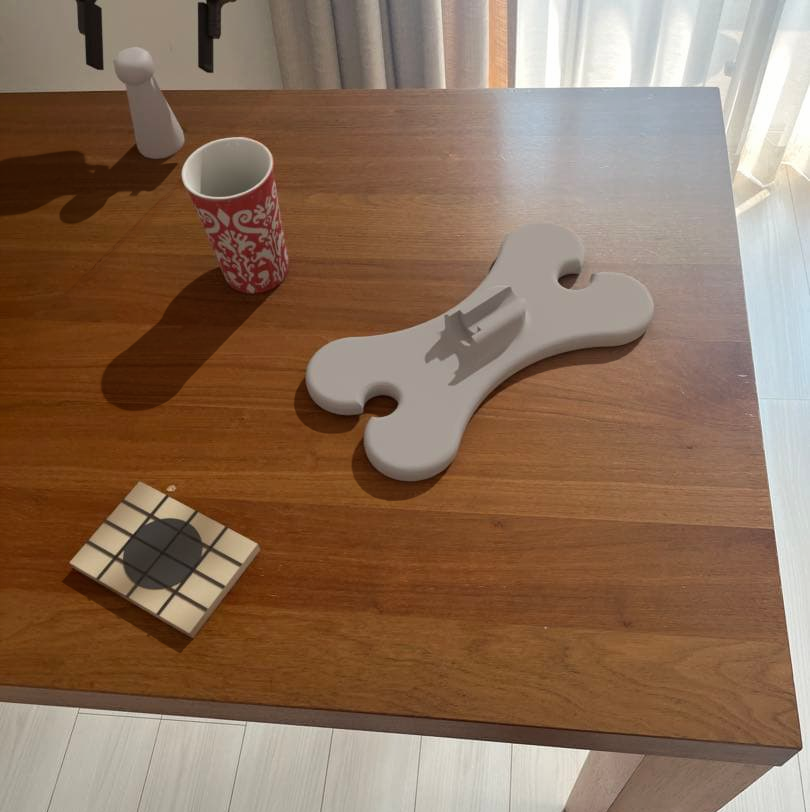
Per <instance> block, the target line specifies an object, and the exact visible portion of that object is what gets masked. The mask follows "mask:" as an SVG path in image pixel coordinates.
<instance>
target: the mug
mask: <svg viewBox="0 0 810 812" xmlns="http://www.w3.org/2000/svg"><path fill="white" fill-rule="evenodd" d="M274 163H275V162H274V157H273V154H272V152H271V150H269V148H268V147H267V146H266V145H264V144H263V143H261V142H260V141H257V140H255V139H252V138H250V137H248V136H237V137H225V138H219V139H216V140H212V141H210V142H207V143H206V144H203V145H202V146H200V147H198V148H197V149H196V150H195V151H193V152H192V153H191V154H190V155H189V156H188V157H187V159H186V160H185V161H184V163H183V165H182V167H181V174H180V175H181V180H182V181H181V182H182V184H183V186H184V188H185V189H186V190H187V192H188V194H189V197H190V198H191V201H192V204H193V206H194V208H195V212H196V213H197V215H198V218H199V220H200V222H201V224H202V227H203V229H204V232H205V234H206V237H207V239H208V241H209V243H210V246H211V249H212V251H213V254H214V255H215V258H216V260H217V262H218V265H219V268H220V269H221V273H222V274H223V277H224V279H225V281H226V282H227V284H228V285H229V286H230V287H231V288H232V289H233V290H235V291H238V292H240V293H244V294H251V295H252V294H253V295H254V294H262V293H265V292H268V291H271V290H273V289H275V288H276V287H278V286H279V285H280V284H281V283H282V282H283V281H284V280H285V279H286V277H287V275H288V274H289V273H288V272H289V270H290V261H289V255H288V248H287V244H286V238H285V233H284V227H283V222H282V215H281V210H280V202H279V196H278V190H277V185H276V180H275V179H276V178H275V175H274Z"/></svg>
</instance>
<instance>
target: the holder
mask: <svg viewBox="0 0 810 812" xmlns="http://www.w3.org/2000/svg"><path fill="white" fill-rule="evenodd" d="M586 254H587V253H586V247H585V245H584V242H583V240H582V238H581V237H580V236H579V235H578V234H577V233H576V232H575V231H574V230H572V229H571V228H570V227H567V226H566V225H563V224H560V223H557V222H553V221H534V222H529V223H525V224H523V225H520V226H519V227H516V228H514V229H513V230H512V231H511V232H510V233H508V234H507V235H506V237H504V239H503V241H502V242H501V245H500V246H499V251H498V254H497V256H496V259H495V261H494V264H493V265H492V267H491V269H490V271H489V272H488V273H487V275H486V277H485V278H484V279H483V281H481V283H480V284H479V285H478V287H476V289H474V291H472V292H471V293H470V294H468V296H467V297H466V298H464V299H463V300H462V301H461V302H459V303H457V305H455V306H454V307H451V309H449V310H447V311H445V312H443V313H442V314H440V315H438V316H436V317H434V318H431V319H430V320H428V321H425V322H422V323H420V324H417V325H415V326H412V327H408V328H405V329H402V330H397V331H393V332H388V333H383V334H378V335H377V334H376V335H367V336H350V337H343V338H339V339H335V340H333V341H330V342H328V343H327V344H325V345H323V346H322V347H321V348H319V349H318V350H317V351H316V352H315V353H314V354H313V355H312V357H311V358H310V360H309V362H308V364H307V367H306V369H305V375H304V376H305V377H304V379H305V380H304V381H305V385H306V389H307V392H308V394H309V396H310V398H311V400H312V401H314V403H315V404H316V405H318V407H320V408H321V409H323V410H325V411H327V412H329V413H332V414H336V415H339V416H356V415H361V414H364V408H365V405H366V403H367V402H368V401H369V400H371V399H372V398H375V397H378V396H386V397H387V396H388V397H390V398H392V399H394V400H395V401H396V402H397V407H396V409H395V410H394V411H393V412H392V413H390V414H388V415H386V416H381V417H380V416H379V417H377V416H376V417H375V416H370V418H369V420H368V421H367V423H366V426H365V428H364V432H363V446H364V447H363V448H364V451H365V454H366V457H367V458H368V460H369V462H370V463H371V465H372V466H373V467H374V468H375V469H376V470H377V471H378V472H380V473H381V474H382V475H384V476H386V477H388V478H390V479H393V480H397V481H401V482H402V481H403V482H418V481H424V480H427V479H430V478H432V477H435V476H436V475H438V474H440V473H442V472H443V471H445V469H447V468H448V467H449V466H450V465H451V464H452V462H453V461H454V460H455V458H456V456H457V454H458V450H459V447H460V444H461V441H462V439H463V435H464V433H465V430H466V428H467V426H468V425H469V421H470V420H471V419H472V416H473V415H474V414H475V412H476V410H477V409H478V408H479V406H480V405H481V404H482V402H484V400H485V399H486V398H487V397H488V396H489V395H490V394H491V393H492V392H493V391H494V390H495V389H496V388H498V386H499V385H501V384H502V383H504V381H506V380H507V379H508V378H510V377H512V376H513V375H515V374H517V372H519V371H521V370H523V369H525V368H526V367H529V366H531V365H532V364H534V363H537V362H539V361H542V360H545V359H547V358H550V357H553V356H556V355H559V354H564V353H566V352H573V351H576V350H582V349H583V350H584V349H591V348H599V347H600V348H601V347H602V348H603V347H618V346H623V345H626V344H629V343H631V342H634V341H635V340H637V339H639V338H640V337H642V335H644V333H646V331H647V330H648V329H649V327H650V325H651V324H652V322H653V318H654V313H655V303H654V299H653V296H652V294H651V293H650V291H649V290H648V288H647V287H646V286H645V285H643V283H642V282H641V281H639V280H638V279H636V278H634V277H632V276H630V275H627V274H624V273H620V272H615V271H614V272H613V271H601V272H595V273H592V274H591V275H590V277H589V278H590V279H589V282H590V283H589V285H588V286H586V287H584V288H580V289H570V288H566V287H565V286H562V285H561V284H560V283H559V281H558V280H559V279H560V278H562V277H563V276H566V275H572V274H574V275H580V274H581V273H582V271H583V269H584V266H585V263H586V256H587V255H586Z"/></svg>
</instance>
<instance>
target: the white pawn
mask: <svg viewBox="0 0 810 812" xmlns="http://www.w3.org/2000/svg"><path fill="white" fill-rule="evenodd" d="M112 62H113V67H114V72H115V74H116V77H117V79H118V80H119V81H120V82H122V83H123V84H125V89H126V95H127V100H128V101H127V102H128V106H129V112H130V116H131V121H132V127H133V133H134V138H135V143H136V144H135V145H136V147H137V150H138V151H139V153H140V154H141V155H142V156H143V157H144V158H148V159H153V160H158V159H166V158H168V157H172V156H173V155H175V154H177V153H178V152H179V151H181V150H182V149H183V147H184V144H185V142H186V140H185V134H184V130H183V129H182V127H181V124H180V123H179V121H178V119H177V118H176V117H177V116H175V114H174V112H173V110H172V108H171V106H170V104H169V103H168V101H167V99H166V97H165V95H164V93H163V92H162V90H161V88H160V86H159V84H158V83H157V81H156V78H155V77H154V73H155V64H154V60H153V58H152V55H151V54H150V52H149V51H147V50H145V49H144V48H142V47H137V46H132V47H128V48H124V49H122V50H121V51H119V52H118V53H117V54H116V56H115V57H114V59H113V61H112Z"/></svg>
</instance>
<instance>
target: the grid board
mask: <svg viewBox="0 0 810 812" xmlns="http://www.w3.org/2000/svg"><path fill="white" fill-rule="evenodd" d="M260 551H261V548H260V545H259V544H258V543H257V542H255V541H253V540H251V539H250V538H248V537H246V536H244V535H242V534H240V533H238V532H237V531H234V530H233V529H231V528H229V527H228V526H226V525H223V524H222V523H220V522H217V521H216V520H214V519H212V518H210V517H209V516H206V515H204V514H203V513H201V512H199V511H198V510H195V509H193V508H192V507H190V506H188V505H185V504H184V503H182V502H180V501H178V500H176V499H174V498H173V497H171V496H170V495H168V494H165V493H163V492H161V491H160V490H158V489H156V488H154V487H151V486H150V485H148V484H146V483H144V482H143V481H138V482H137V483H136V484H135V486H134V487H133V488H132V489H131V491H130V492H129V493H128V494H127V495H126V496H125V497H124V498H122V499H121V500H120V503H119V504H118V505H117V507H115V509H114V510H113V511H112V512H111V514H110V515H109V516H107V518H105V519H104V520H103V523H102V524H101V525H100V526H99V527H98V529H96V531H95V532H94V533H93V534H92V535H91V537H90V538H89V539H87V540H86V541H85V544H84V545H83V546H82V547H81V548H80V550H79V551H78V552H77V553H76V554H75V555H74V556H73V558H72V559H71V560H70V561H69V562H68V563H69V564H70V565H71V567H72V568H73V569H74V570H76V571H78V572H79V573H81V574H83V575H84V576H86V577H88V578H89V579H90V580H92V581H94V582H96V583H97V584H99V585H101V586H103V587H105V588H106V589H107V590H109V591H111V592H113V593H115V594H116V595H118V596H120V597H121V598H123V599H125V600H127V601H128V602H130V603H132V604H133V605H135V606H137V607H139V608H140V609H142V610H143V611H145V612H146V613H149V614H150V615H152V616H154V617H155V618H157V619H159V620H160V621H162V622H164V623H165V624H167V625H169V626H170V627H172V628H174V629H176V630H177V631H180V632H181V633H182V634H183V635H186V636H188V637H189V638H191V639H194V638H195V637H196V636H197V634H198V633H199V631H200V630H201V629H202V628H203V626H204V625H205V624H206V622H207V621H208V620H209V618H210V617H211V616H212V614H213V613H214V612H215V611H216V610H217V608H218V606H219V605H220V604H221V603H222V602H223V600H224V599H225V597H226V596H227V595H228V594H229V592H230V591H231V589H232V588H233V587H234V586H235V584H236V583H237V581H238V580H239V579H240V578H241V576H242V575H243V574H244V573H245V571H246V570H247V569H248V567H249V566H250V565H251V564H252V562H253V561H254V559H255V558H256V557H257V556H258V554H259V553H260Z"/></svg>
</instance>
